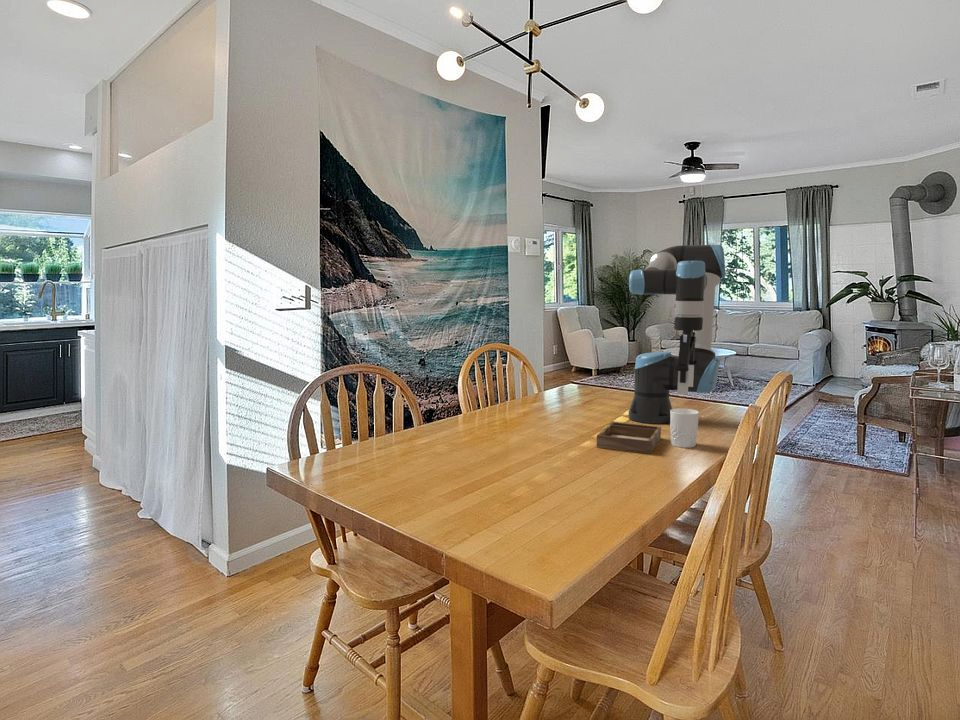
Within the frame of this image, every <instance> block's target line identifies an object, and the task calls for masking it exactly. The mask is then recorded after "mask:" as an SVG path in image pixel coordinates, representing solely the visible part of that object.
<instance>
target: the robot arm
mask: <svg viewBox="0 0 960 720" xmlns="http://www.w3.org/2000/svg"><path fill="white" fill-rule="evenodd" d="M725 261H726V259H725V251H724V246H723V245H721V244H711V243H708V244H693V245H692V244H691V245H687V244H685V245H675V246H669V247H667V248H664V249H662V250H660V251H658V252H656V253H655V254H654V255H652V257H651V258H650V260H649V262H648V263H649V264H648V265H647V266H646V267H645V269H634V270H631V271H630V272H629V277H628V287H629V289H628V290H629V292H630V293H631V295H639V296H643V295H670V296H671V295H675V302H674V304H673V305H672V308H675V309H674V314H675V317H674V326H673V327H674V330H676V331H682V334H680V336H679V350H678V356H676V355H675V356H673V355H672V353H671V351H653V352H646V353H641V354H639V355H637V356H636V357H635V365H634V391H633V392H634V393H633V399H632V401H631V404H630V406H629V410H628V417H627V418H628V419H629V420H631V421H634V422H637V423H644V424H660V425H661V424H668V423H669V424H670V410H671V409H673V406H672V403H671V398H670V391H673V392H675V391H676V393H677V395H684V396H685V395H687V396H688V395H689V393H697V394H700V393H706V394H707V393H708V394H709V393H711V392H713V391H714V390H715V387H716V383H717V380H718V375H719V369H720V359H719V358H717V357H716V352H715V351H714V350H713V349H712V338H713V328H714V327H713V325H714V312H715V298H716V287H717V286H719V284H721V281H722V279H724V278H726V262H725Z"/></svg>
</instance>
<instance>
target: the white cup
mask: <svg viewBox="0 0 960 720" xmlns="http://www.w3.org/2000/svg"><path fill="white" fill-rule="evenodd" d="M699 419H700V411H699V410H696V409H692V408H684V407H683V408H681V407H680V408H679V407H677V408H672V409H671V410H670V422H669V428H670V432H669V433H670V444H671V446H673V447H677V448H682V449H683V448H684V449H689V448H691V449H692V448H694V447H696V445H697V436H698V429H699Z"/></svg>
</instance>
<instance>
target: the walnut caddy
mask: <svg viewBox="0 0 960 720" xmlns="http://www.w3.org/2000/svg"><path fill="white" fill-rule="evenodd" d="M661 433H662V427H661V426H655V425H647V424H646V425H645V424H637V423H636V424H634V423H626V422H618V421H617V422H616V421H610V423H608V425H606V427H604V428H603V429H602V430H601V431H600V432H599V433H598V434H597V435H596V448H600V449H608V450H614V449H615V450H614V451H622V450H623V451H624V452H631V453H640V454H647V455H651V454H652V452H653V450H654V449H655V447H656V446H657V444H658V443H659V441H660V440H661V438H662V434H661ZM623 451H622V452H623Z"/></svg>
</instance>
